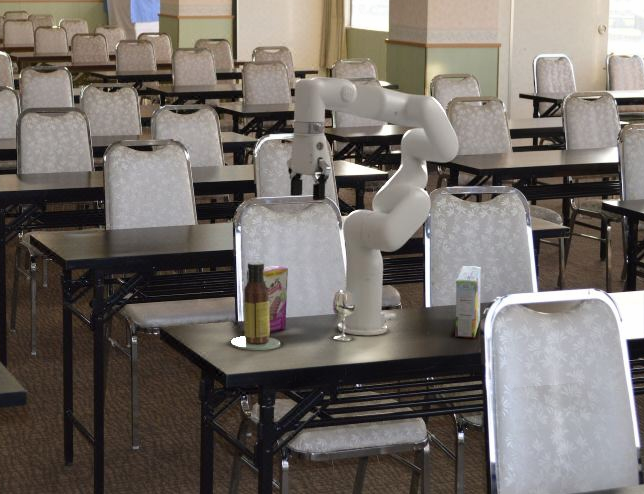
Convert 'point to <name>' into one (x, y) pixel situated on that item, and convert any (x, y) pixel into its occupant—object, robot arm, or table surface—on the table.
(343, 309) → the wineglass
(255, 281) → the sauce bottle
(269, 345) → the coaster
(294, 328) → the table surface
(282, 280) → the candy bar box
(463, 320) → the snack box
